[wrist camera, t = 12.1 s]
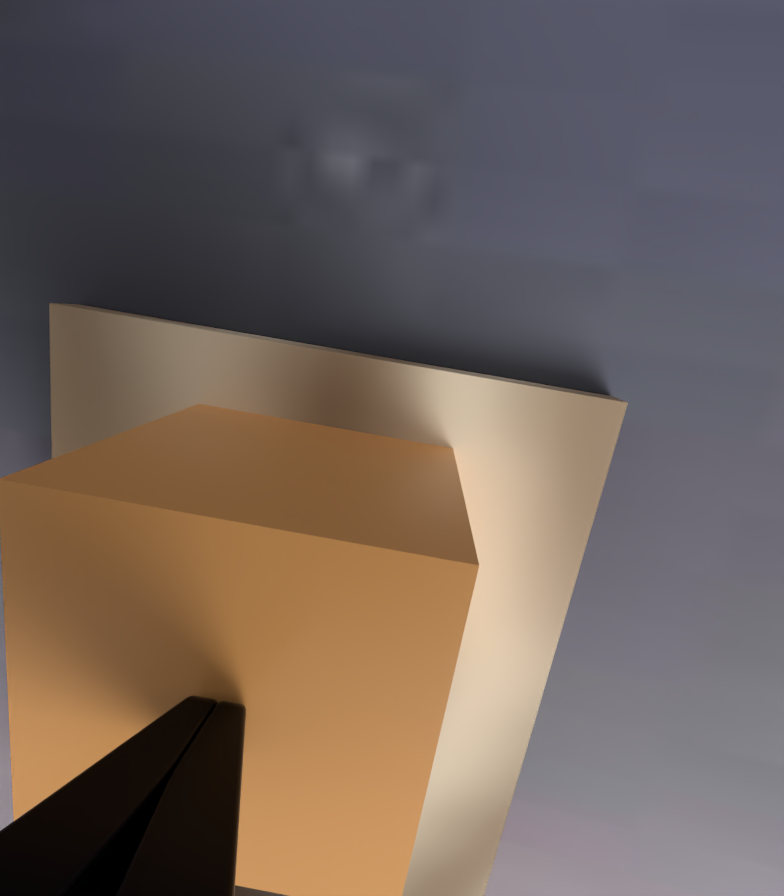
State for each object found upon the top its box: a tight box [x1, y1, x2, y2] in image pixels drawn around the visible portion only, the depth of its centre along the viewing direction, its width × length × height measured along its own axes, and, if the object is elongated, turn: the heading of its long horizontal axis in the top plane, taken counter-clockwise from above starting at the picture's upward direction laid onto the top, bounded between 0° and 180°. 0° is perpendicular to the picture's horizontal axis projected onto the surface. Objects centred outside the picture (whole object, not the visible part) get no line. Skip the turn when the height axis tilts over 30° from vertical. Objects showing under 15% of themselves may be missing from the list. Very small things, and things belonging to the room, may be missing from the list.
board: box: [49, 303, 628, 896], centre depth 13 cm, size 14×22×6 cm, turn 171°
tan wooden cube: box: [0, 404, 479, 896], centre depth 10 cm, size 6×6×6 cm
